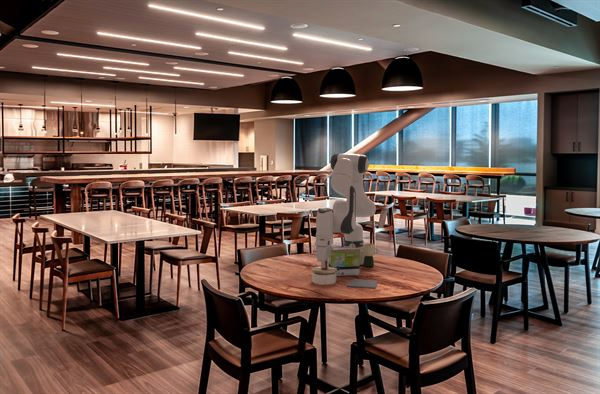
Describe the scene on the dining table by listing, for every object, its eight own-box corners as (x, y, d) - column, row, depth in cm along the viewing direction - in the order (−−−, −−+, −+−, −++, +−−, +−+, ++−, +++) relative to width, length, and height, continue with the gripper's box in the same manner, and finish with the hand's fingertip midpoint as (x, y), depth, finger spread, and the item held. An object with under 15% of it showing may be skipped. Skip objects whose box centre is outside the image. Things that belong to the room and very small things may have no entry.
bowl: (315, 278, 271) (315, 269, 271) (337, 280, 269) (337, 270, 268) (310, 284, 260) (310, 274, 259) (333, 285, 257) (333, 275, 257)
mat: (351, 280, 268) (351, 278, 268) (378, 281, 264) (378, 280, 264) (346, 286, 254) (347, 285, 254) (375, 288, 251) (375, 287, 251)
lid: (314, 267, 272) (314, 258, 271) (338, 268, 269) (339, 259, 268) (309, 272, 259) (309, 263, 259) (334, 274, 256) (334, 264, 256)
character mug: (378, 265, 304) (378, 243, 303) (377, 268, 297) (378, 246, 296) (359, 264, 306) (360, 243, 305) (358, 267, 299) (359, 245, 298)
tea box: (334, 276, 275) (334, 249, 274) (328, 272, 285) (328, 246, 283) (360, 275, 279) (360, 248, 278) (353, 271, 289) (353, 245, 287)
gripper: (322, 236, 273) (322, 262, 274) (314, 243, 254) (314, 270, 255) (334, 237, 272) (334, 262, 273) (326, 243, 252) (326, 271, 253)
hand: (324, 266), depth 264 cm, fingers closed on lid, 3 cm apart
